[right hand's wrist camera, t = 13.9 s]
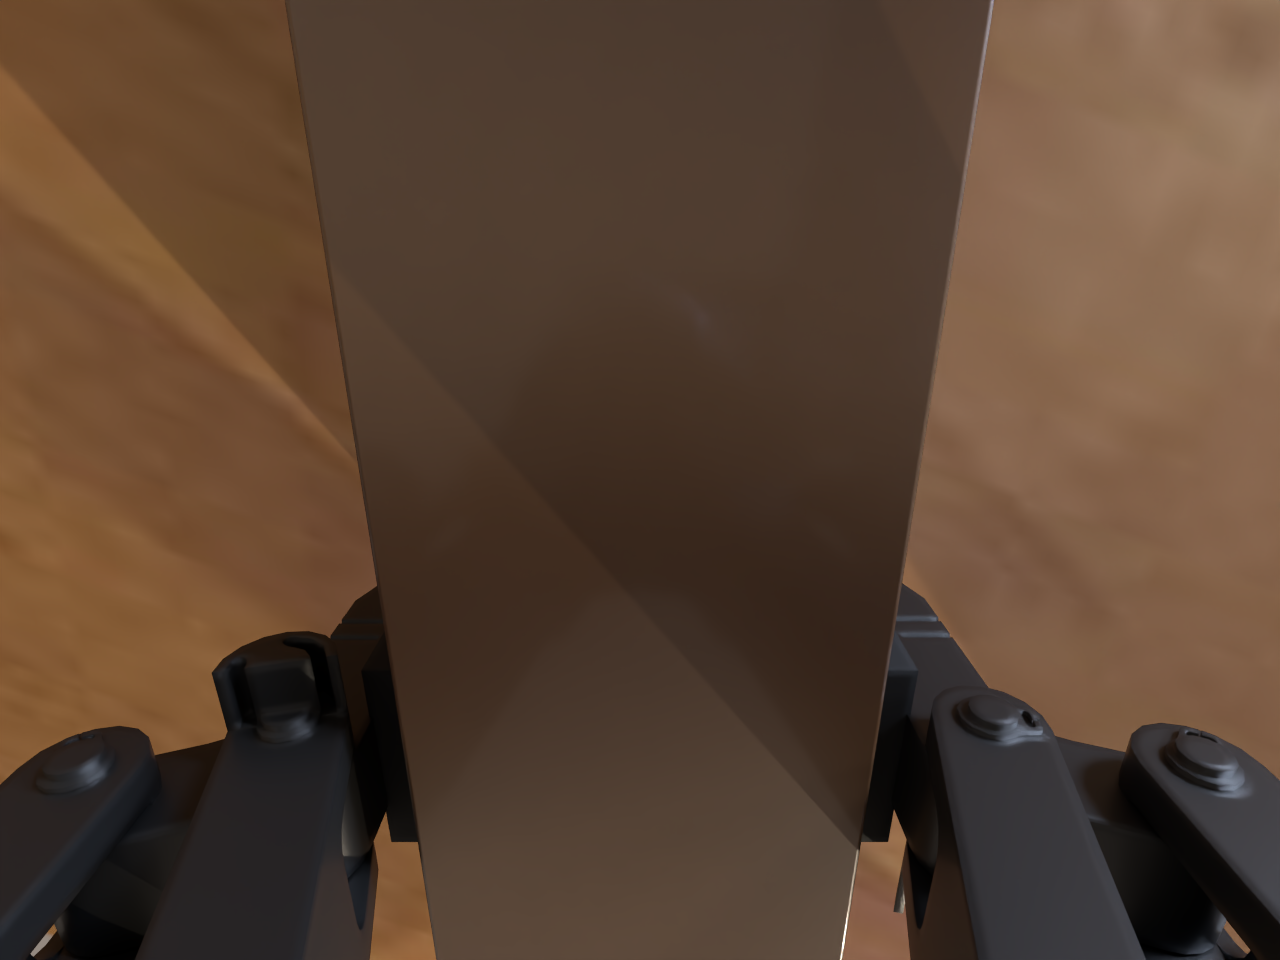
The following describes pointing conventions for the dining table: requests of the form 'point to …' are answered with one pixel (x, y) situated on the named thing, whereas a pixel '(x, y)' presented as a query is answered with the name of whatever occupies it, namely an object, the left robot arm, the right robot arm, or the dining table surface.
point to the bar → (639, 436)
